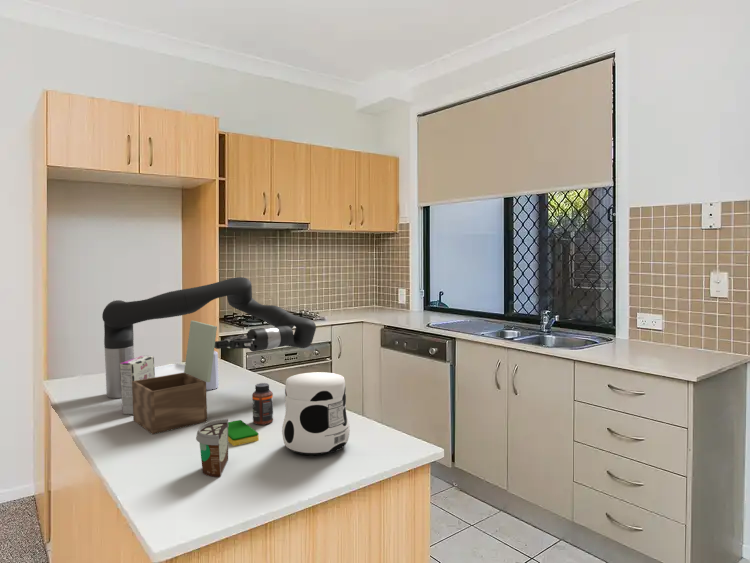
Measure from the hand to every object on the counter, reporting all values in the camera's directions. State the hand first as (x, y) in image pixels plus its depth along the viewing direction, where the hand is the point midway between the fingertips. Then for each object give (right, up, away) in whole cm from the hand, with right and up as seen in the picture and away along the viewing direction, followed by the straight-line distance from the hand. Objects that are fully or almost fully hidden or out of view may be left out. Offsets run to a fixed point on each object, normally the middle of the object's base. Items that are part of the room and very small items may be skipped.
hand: (215, 345), depth 169 cm
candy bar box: (-25, -21, +3) cm, 33 cm away
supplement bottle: (+17, -22, -10) cm, 30 cm away
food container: (+12, -24, -43) cm, 51 cm away
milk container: (+35, -23, -30) cm, 52 cm away
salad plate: (-31, -19, +43) cm, 57 cm away
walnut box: (-11, -22, -9) cm, 26 cm away
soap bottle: (-13, -19, +30) cm, 38 cm away
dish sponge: (+12, -23, -21) cm, 34 cm away
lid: (-4, -1, -4) cm, 6 cm away
